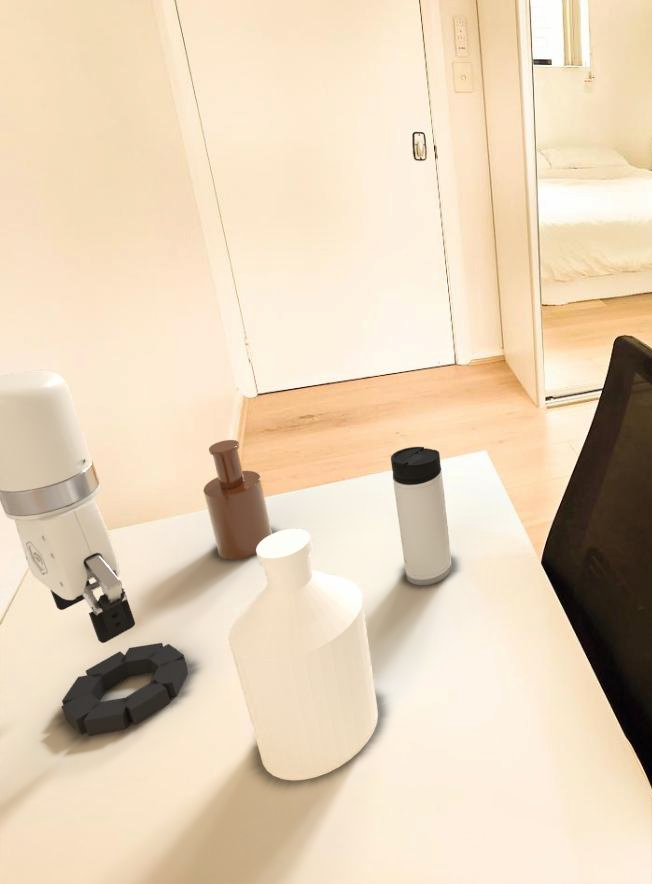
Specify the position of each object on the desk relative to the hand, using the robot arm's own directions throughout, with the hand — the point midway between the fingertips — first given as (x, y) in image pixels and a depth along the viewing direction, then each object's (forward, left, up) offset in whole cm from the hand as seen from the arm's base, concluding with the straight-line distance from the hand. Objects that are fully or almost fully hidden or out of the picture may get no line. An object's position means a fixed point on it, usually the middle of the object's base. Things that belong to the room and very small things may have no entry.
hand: (96, 617), depth 78 cm
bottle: (+8, -27, -10) cm, 29 cm away
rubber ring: (0, -4, -9) cm, 10 cm away
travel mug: (+32, -16, -10) cm, 37 cm away
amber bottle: (+22, +12, -9) cm, 27 cm away
